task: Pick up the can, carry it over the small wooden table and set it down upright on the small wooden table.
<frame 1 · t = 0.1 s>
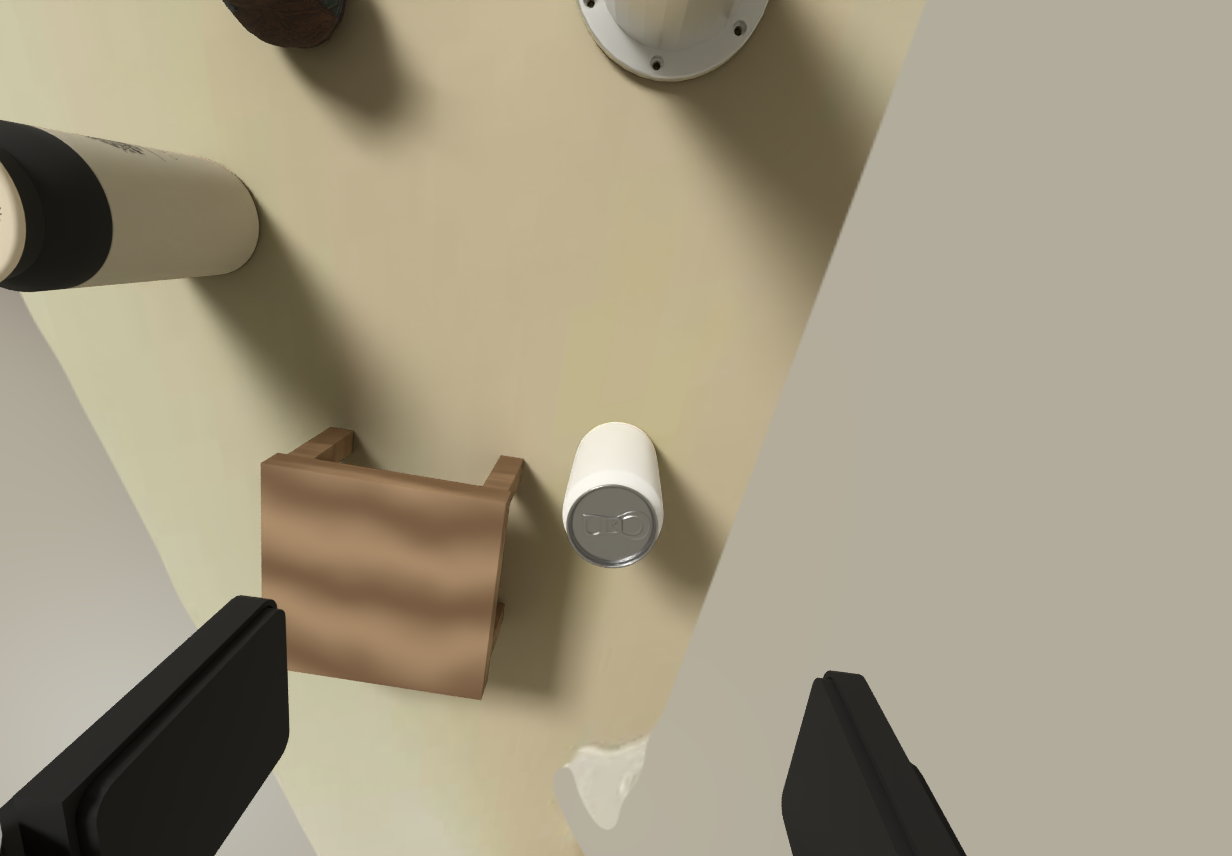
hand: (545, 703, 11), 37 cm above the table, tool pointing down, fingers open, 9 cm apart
travel mug: (208, 217, 44), on the table
can: (616, 458, 48), on the table
small wooden table: (420, 529, 51), on the table
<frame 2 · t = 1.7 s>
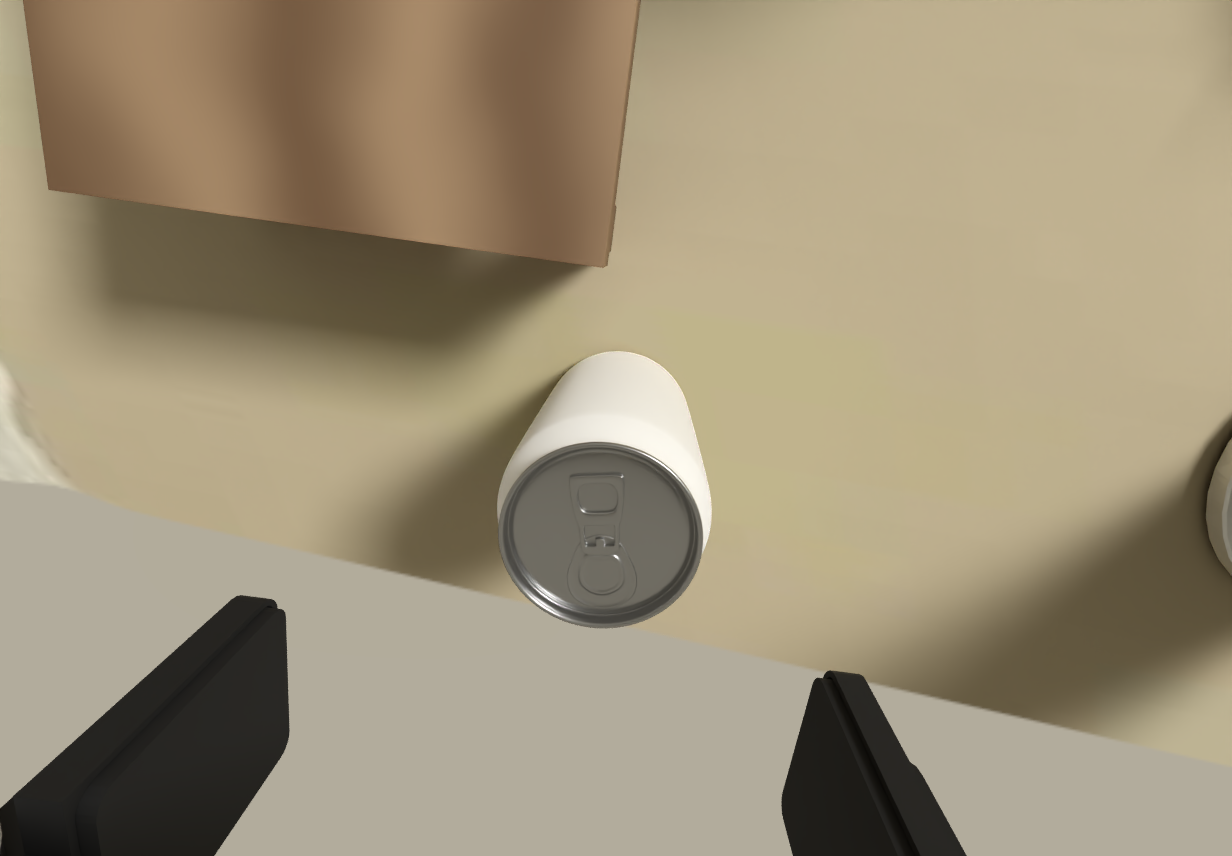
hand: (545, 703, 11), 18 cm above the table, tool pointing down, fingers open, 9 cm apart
can: (618, 417, 28), on the table
small wooden table: (440, 18, 24), on the table
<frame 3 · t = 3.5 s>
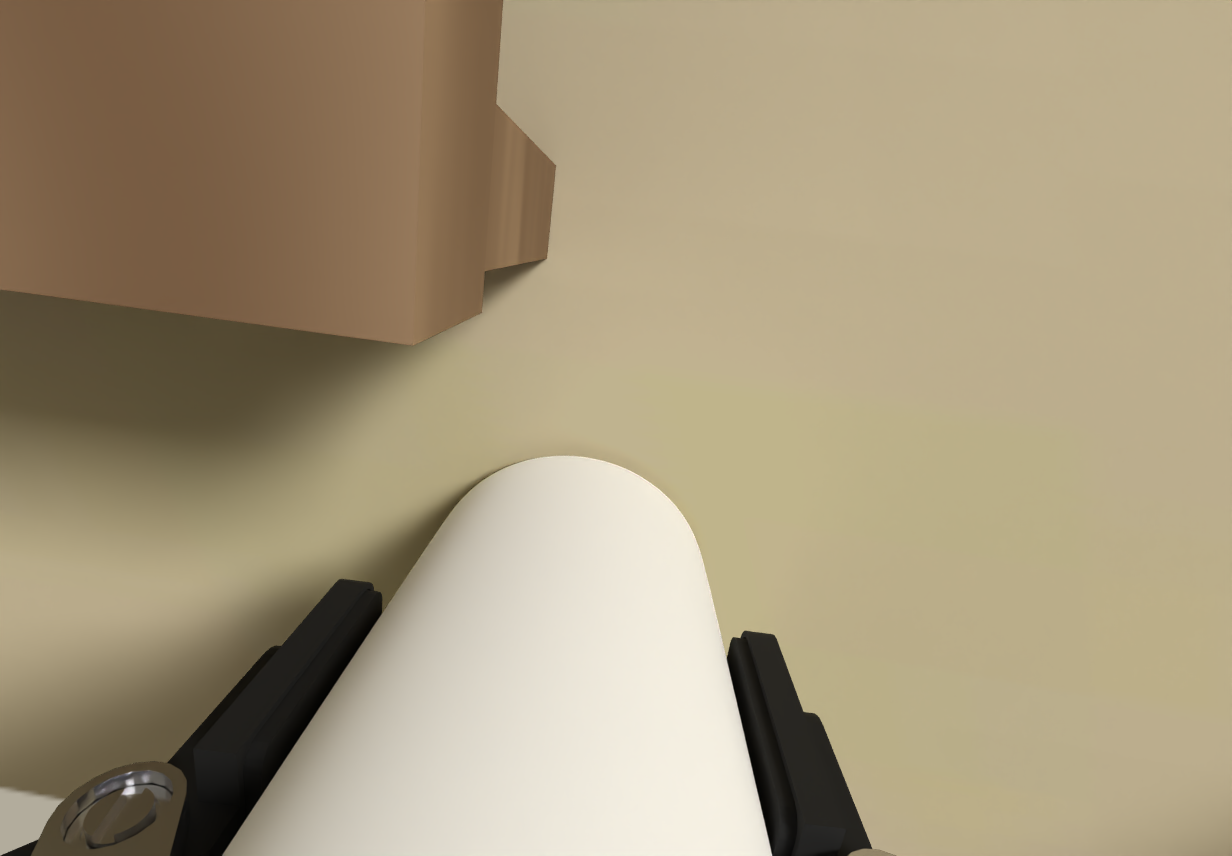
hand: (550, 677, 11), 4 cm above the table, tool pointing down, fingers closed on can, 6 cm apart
can: (570, 569, 15), on the table, touching gripper
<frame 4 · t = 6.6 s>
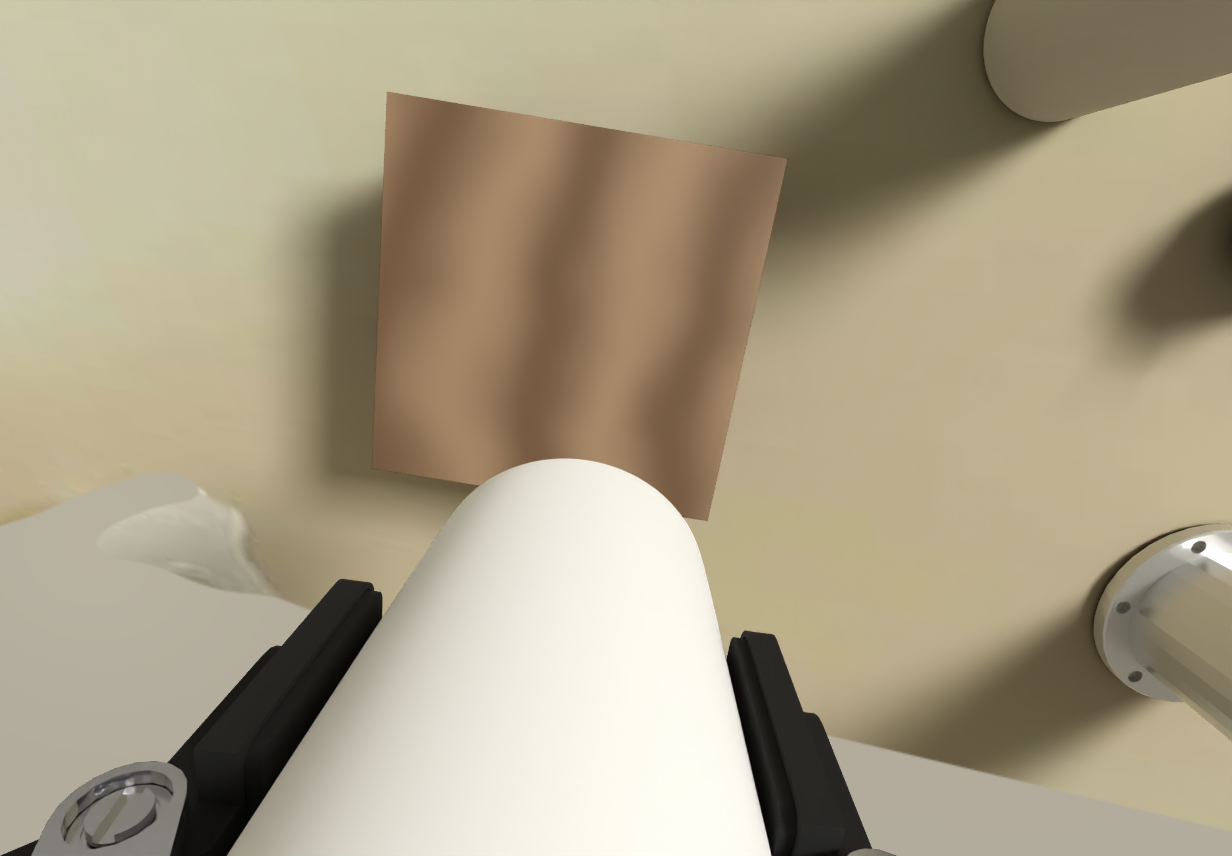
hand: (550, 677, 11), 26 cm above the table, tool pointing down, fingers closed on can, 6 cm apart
travel mug: (1058, 36, 31), on the table
can: (571, 571, 15), point 22 cm above the table, touching gripper
small wooden table: (580, 306, 35), on the table
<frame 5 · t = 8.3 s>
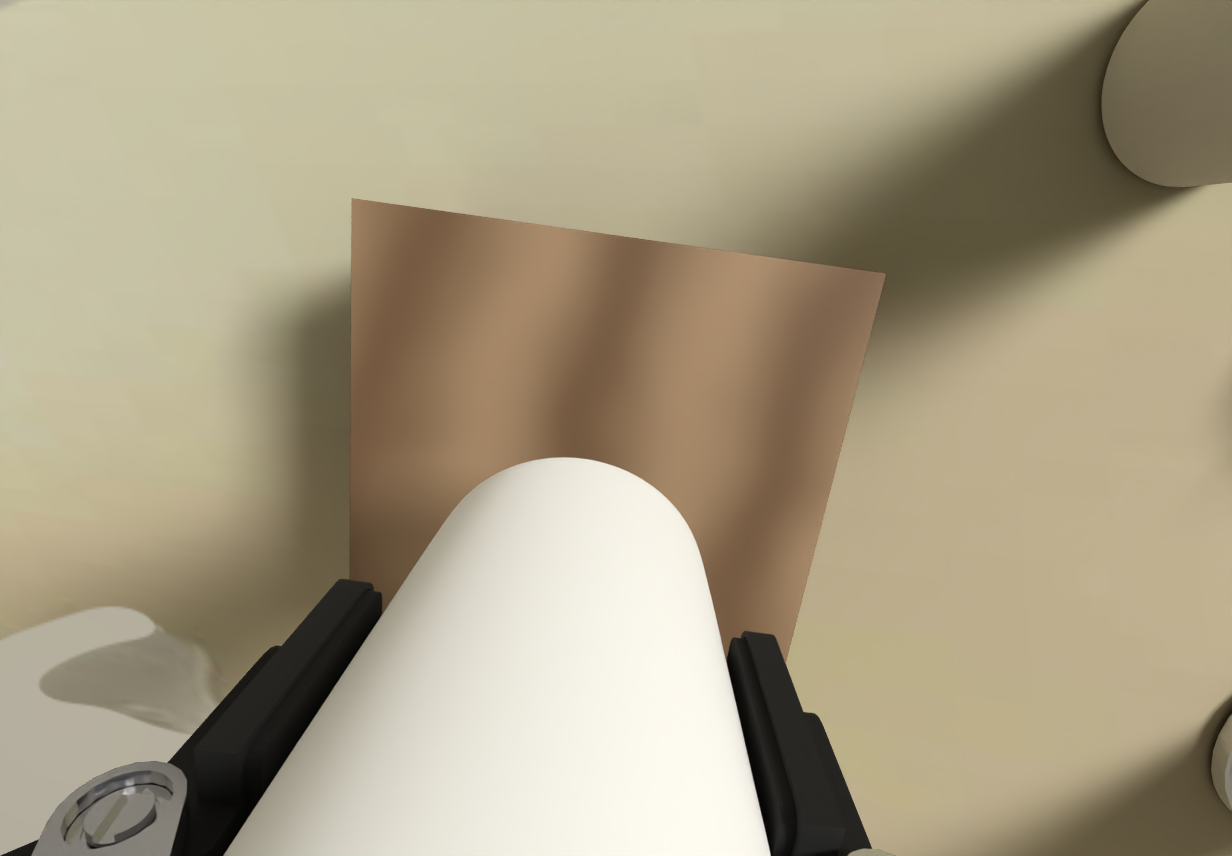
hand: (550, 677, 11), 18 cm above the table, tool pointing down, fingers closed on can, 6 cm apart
travel mug: (1193, 82, 25), on the table
can: (570, 570, 15), point 15 cm above the table, touching gripper
small wooden table: (601, 412, 29), on the table
when the fingers open (14 cm above the table, at t = 9.6 s): can drops 1 cm, resting on small wooden table.
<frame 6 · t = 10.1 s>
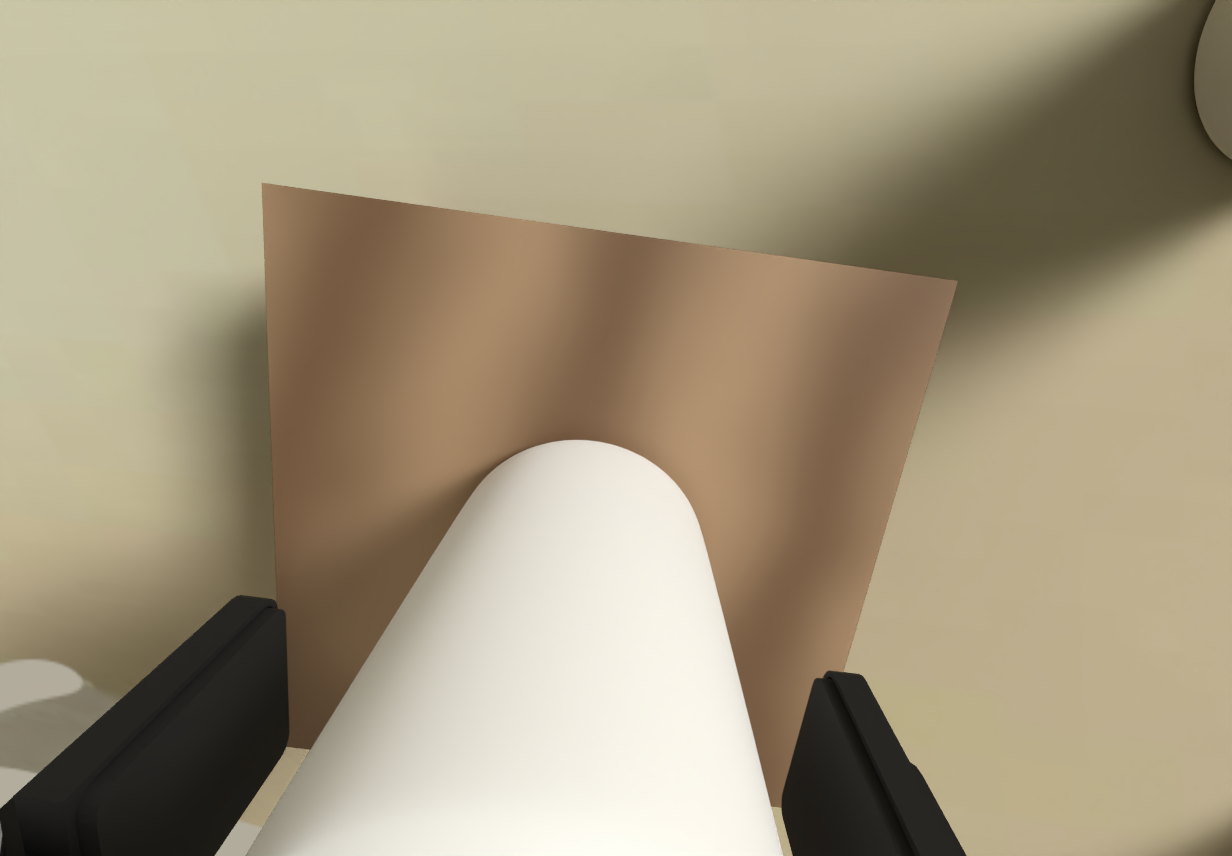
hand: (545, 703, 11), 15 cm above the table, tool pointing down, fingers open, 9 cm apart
can: (581, 545, 16), point 9 cm above the table, touching small wooden table
small wooden table: (593, 439, 25), on the table
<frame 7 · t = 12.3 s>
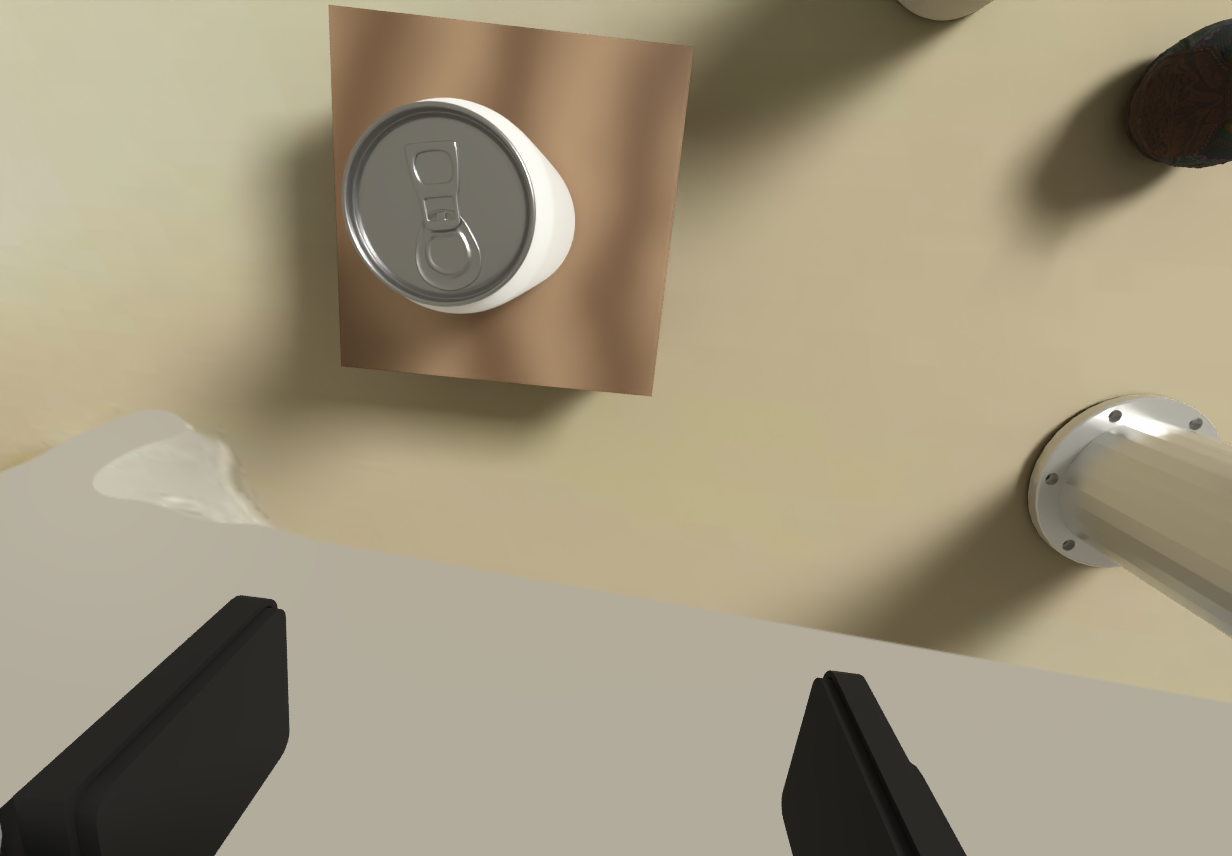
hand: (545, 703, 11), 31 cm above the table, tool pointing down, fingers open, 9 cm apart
mate gourd: (1164, 111, 36), on the table
can: (509, 220, 29), point 9 cm above the table, touching small wooden table
small wooden table: (530, 222, 38), on the table
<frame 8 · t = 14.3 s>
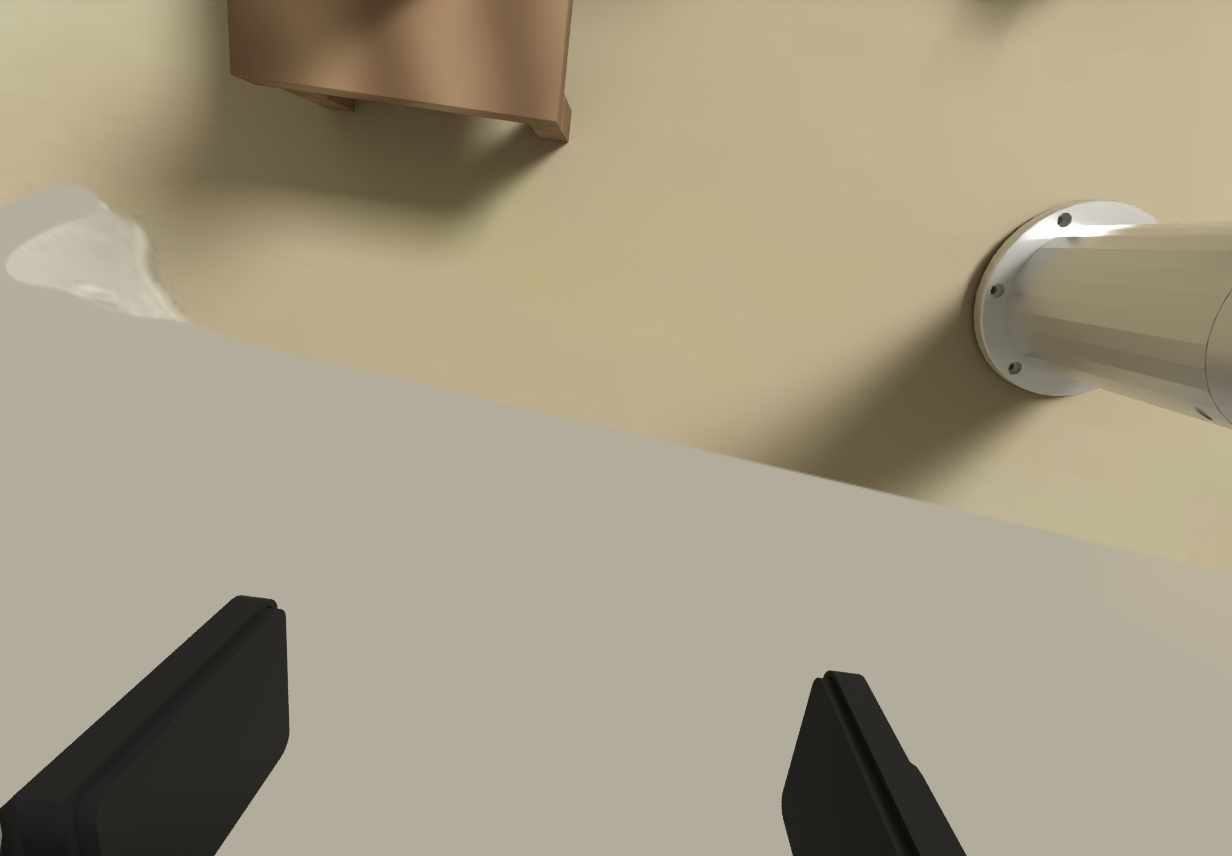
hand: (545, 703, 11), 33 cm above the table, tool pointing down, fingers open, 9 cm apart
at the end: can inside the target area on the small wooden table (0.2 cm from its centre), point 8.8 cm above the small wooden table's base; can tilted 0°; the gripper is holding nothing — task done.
